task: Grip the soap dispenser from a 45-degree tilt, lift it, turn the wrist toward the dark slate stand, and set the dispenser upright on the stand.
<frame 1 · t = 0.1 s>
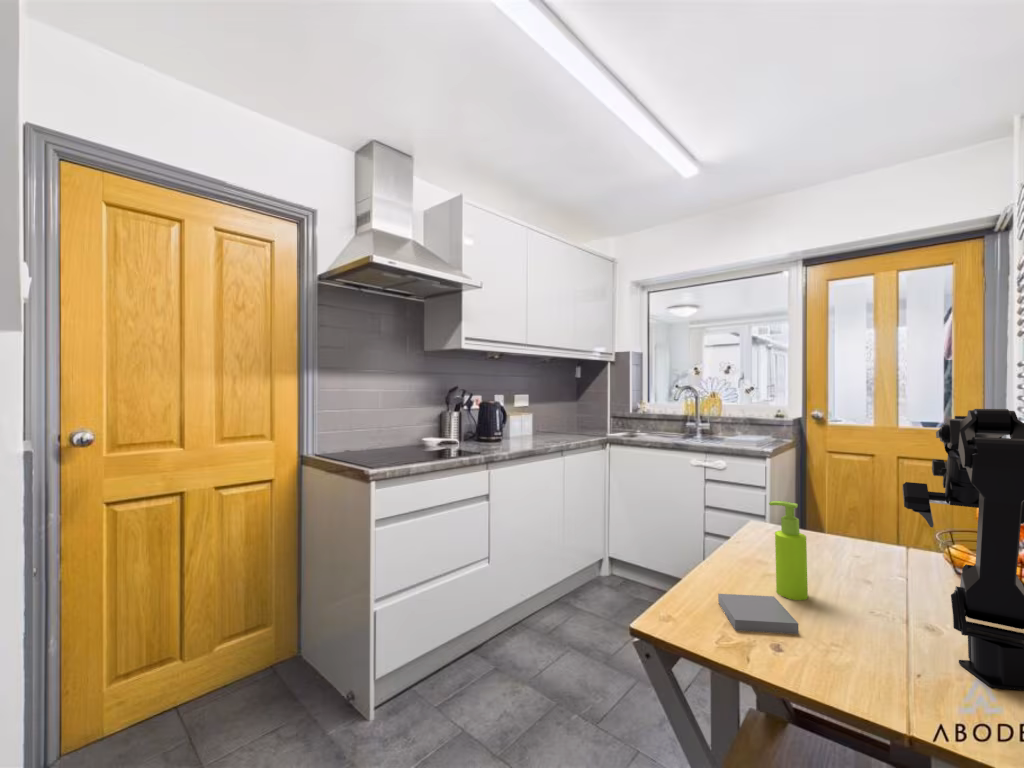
hand: (961, 529, 96), 15 cm above the table, tool tilted 35°, fingers open, 9 cm apart
slate stand: (755, 617, 91), on the table
soap dispenser: (789, 594, 101), on the table
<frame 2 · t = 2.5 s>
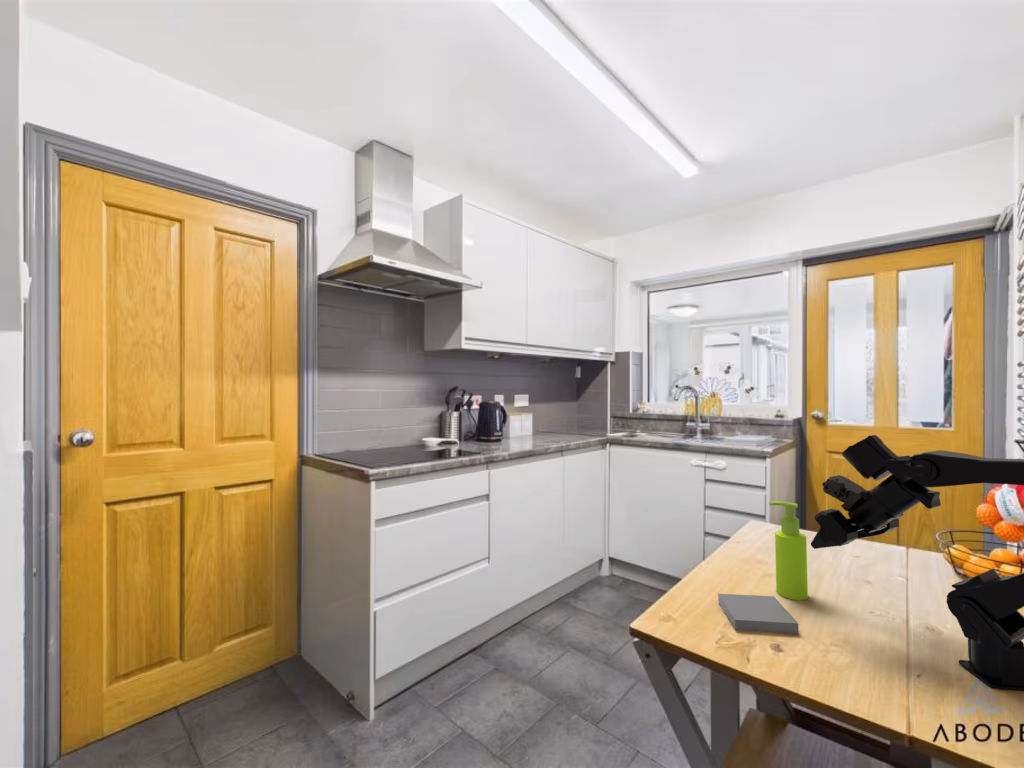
hand: (826, 542, 94), 14 cm above the table, tool tilted 45°, fingers open, 9 cm apart
nothing on the table moved.
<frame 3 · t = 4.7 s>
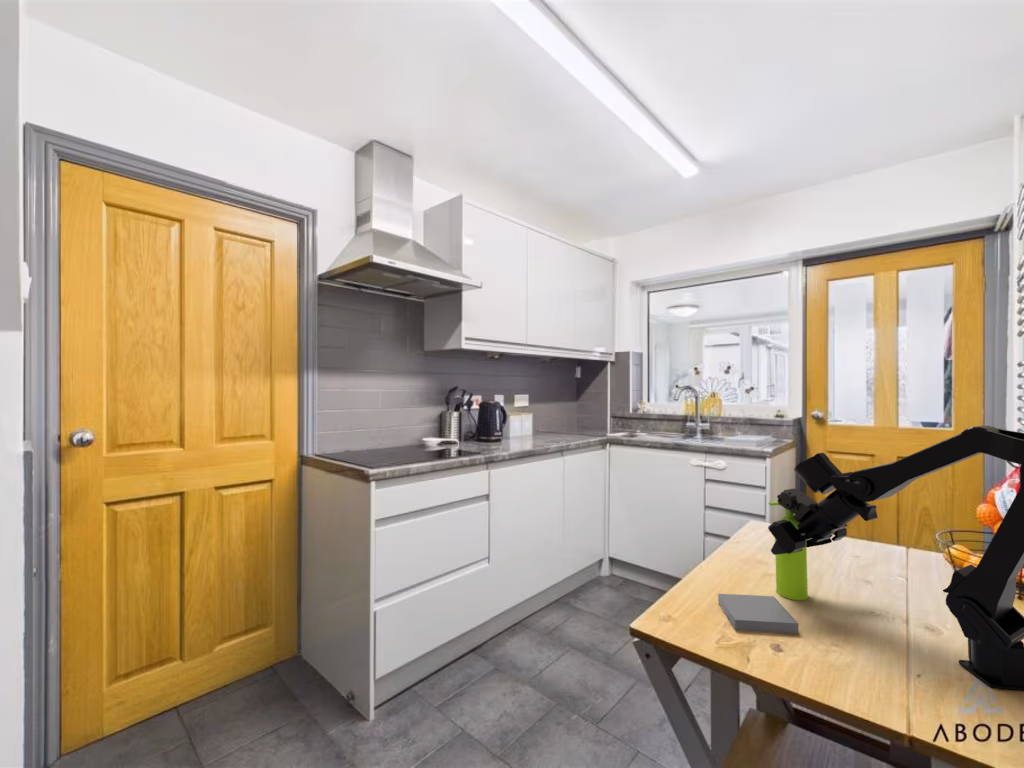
hand: (782, 550, 102), 9 cm above the table, tool tilted 45°, fingers open, 6 cm apart
soap dispenser: (789, 594, 101), on the table, touching gripper
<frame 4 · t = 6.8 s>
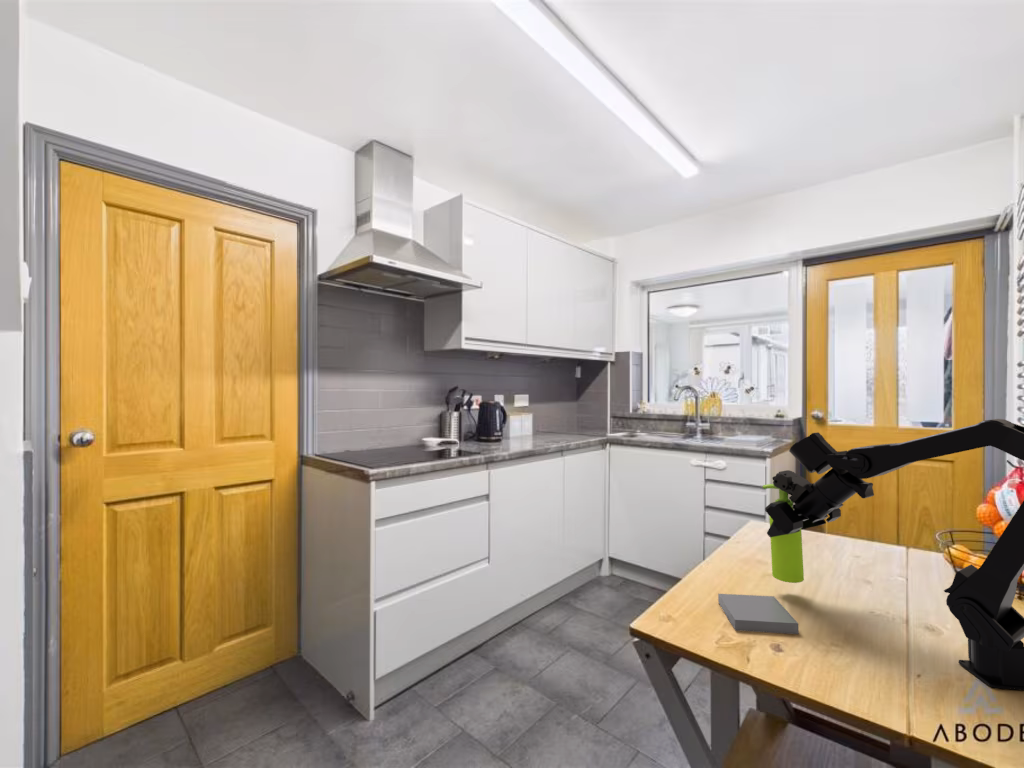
hand: (777, 532, 101), 13 cm above the table, tool tilted 45°, fingers closed on soap dispenser, 6 cm apart
soap dispenser: (785, 577, 100), point 4 cm above the table, touching gripper
when the fingers open (12 cm above the table, at t = 8.8 s): soap dispenser stays where it is, resting on slate stand.
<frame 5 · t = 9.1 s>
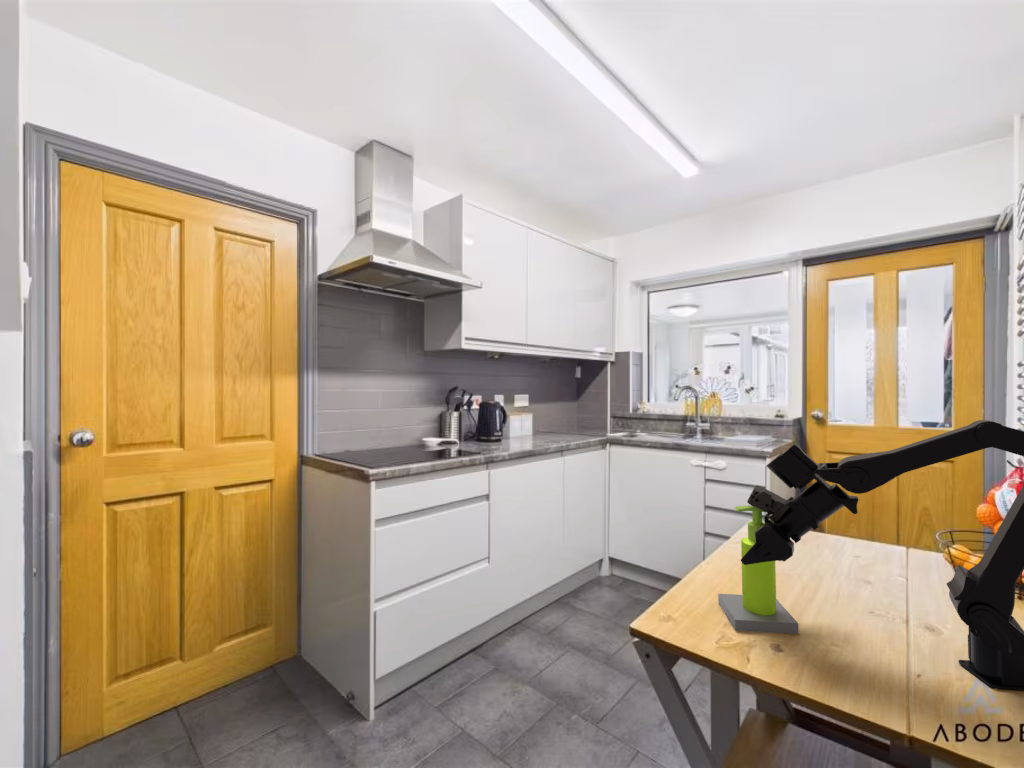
hand: (746, 555, 92), 12 cm above the table, tool tilted 45°, fingers open, 9 cm apart
soap dispenser: (756, 608, 91), point 2 cm above the table, touching slate stand
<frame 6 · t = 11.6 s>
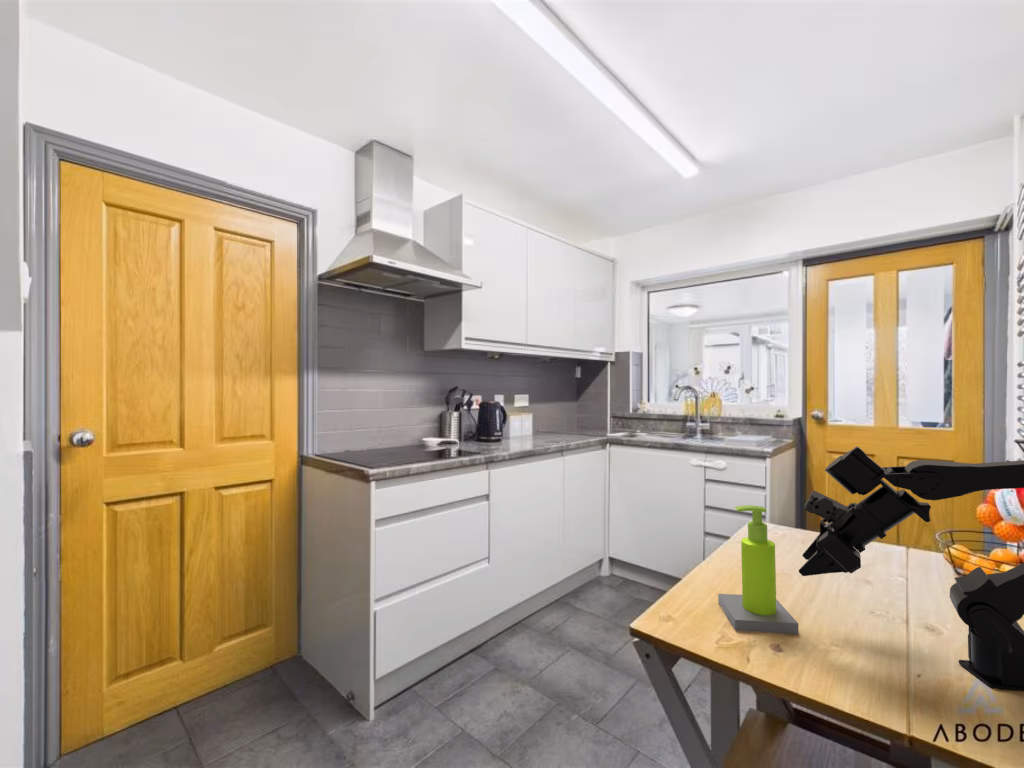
hand: (802, 565, 86), 12 cm above the table, tool tilted 45°, fingers open, 9 cm apart
nothing on the table moved.
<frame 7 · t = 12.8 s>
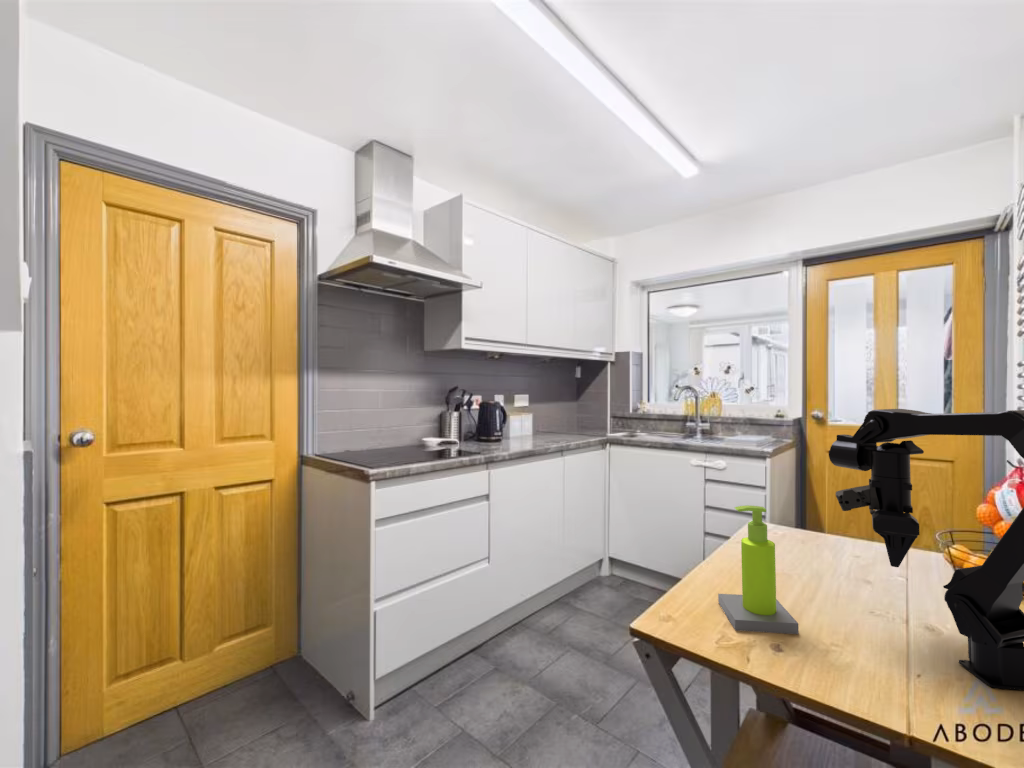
hand: (892, 558, 86), 13 cm above the table, tool pointing down, fingers open, 9 cm apart
nothing on the table moved.
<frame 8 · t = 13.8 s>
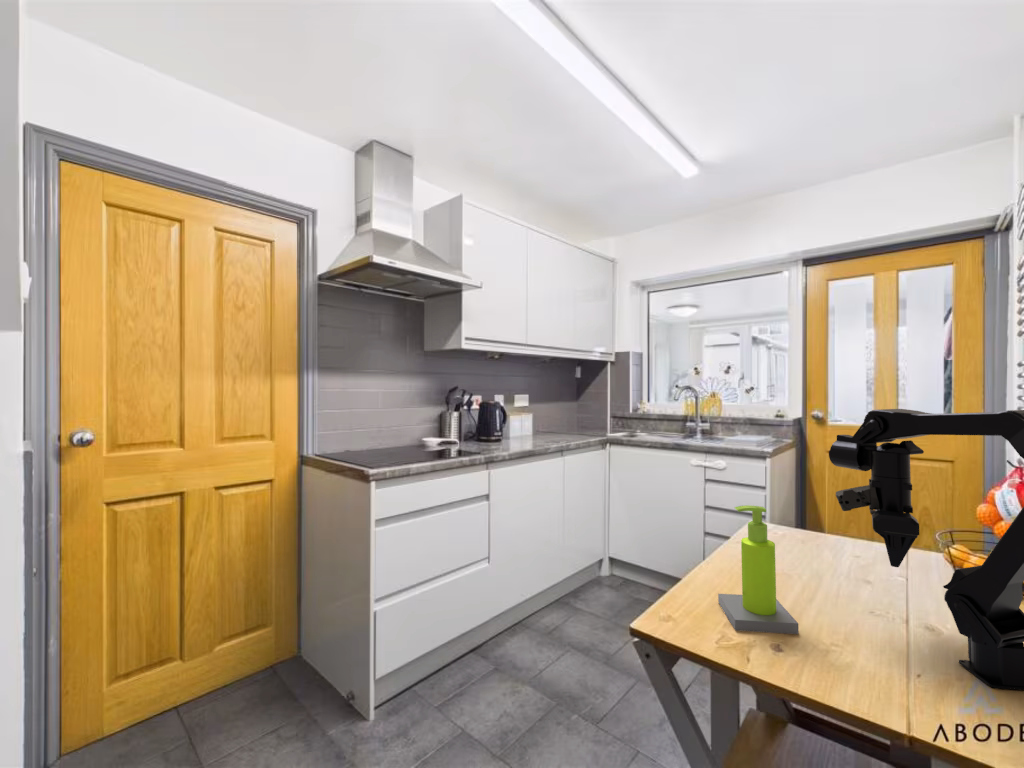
hand: (892, 558, 86), 13 cm above the table, tool pointing down, fingers open, 9 cm apart
nothing on the table moved.
at the end: soap dispenser inside the target area on the slate stand (0.2 cm from its centre), point 1.8 cm above the slate stand's base; soap dispenser tilted 0°; the gripper is holding nothing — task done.
